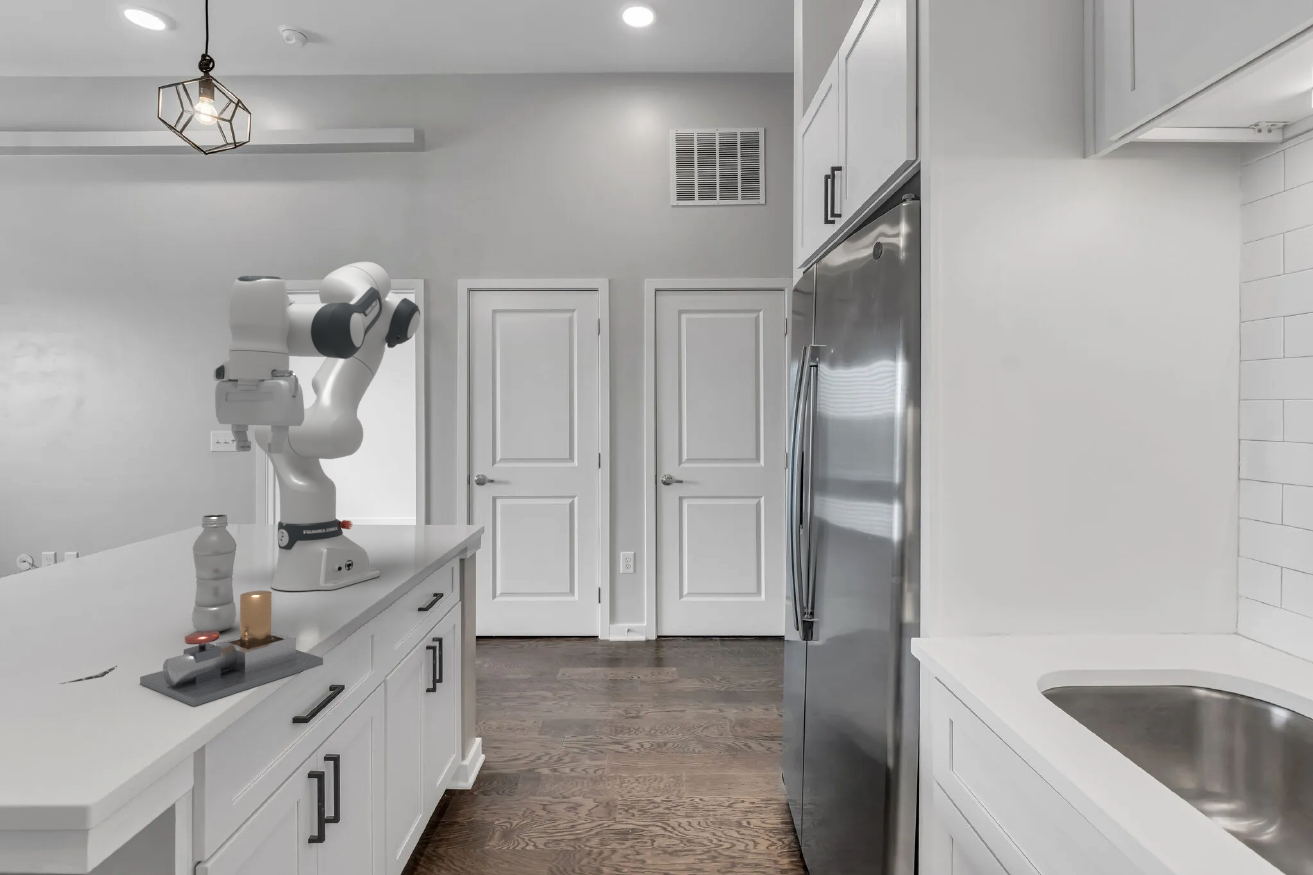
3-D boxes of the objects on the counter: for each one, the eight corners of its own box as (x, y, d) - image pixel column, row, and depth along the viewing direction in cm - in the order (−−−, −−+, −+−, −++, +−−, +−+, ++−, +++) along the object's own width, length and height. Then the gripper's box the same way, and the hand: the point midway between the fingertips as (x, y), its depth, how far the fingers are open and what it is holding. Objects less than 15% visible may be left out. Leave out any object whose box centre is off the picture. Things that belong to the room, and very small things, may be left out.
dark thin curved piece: (51, 691, 91) (26, 688, 93) (52, 696, 91) (26, 693, 93) (148, 660, 103) (125, 657, 105) (149, 664, 103) (125, 662, 105)
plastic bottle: (230, 623, 123) (231, 512, 123) (241, 632, 118) (241, 516, 118) (188, 630, 118) (188, 515, 118) (196, 639, 114) (196, 519, 113)
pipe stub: (261, 654, 104) (261, 589, 104) (277, 659, 102) (277, 592, 102) (234, 662, 101) (234, 594, 101) (250, 667, 99) (250, 598, 99)
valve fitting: (268, 647, 110) (268, 605, 110) (323, 664, 103) (323, 619, 103) (140, 683, 95) (140, 635, 95) (193, 706, 88) (193, 653, 88)
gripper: (315, 370, 113) (314, 454, 114) (244, 373, 124) (244, 449, 124) (277, 367, 108) (277, 455, 108) (207, 370, 118) (207, 450, 118)
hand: (259, 452), depth 116 cm, fingers open, 8 cm apart
